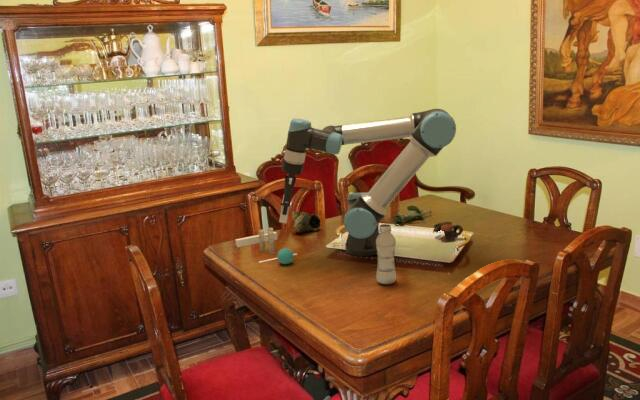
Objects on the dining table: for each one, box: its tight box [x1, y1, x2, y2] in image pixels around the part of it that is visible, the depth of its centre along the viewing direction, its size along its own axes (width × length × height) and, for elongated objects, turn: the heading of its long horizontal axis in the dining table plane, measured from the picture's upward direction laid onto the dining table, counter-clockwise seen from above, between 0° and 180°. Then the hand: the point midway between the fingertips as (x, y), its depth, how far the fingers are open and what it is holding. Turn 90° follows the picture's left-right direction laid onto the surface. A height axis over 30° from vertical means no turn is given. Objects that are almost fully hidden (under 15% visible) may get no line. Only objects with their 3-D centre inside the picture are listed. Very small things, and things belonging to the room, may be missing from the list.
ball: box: [277, 247, 295, 265], centre depth 209 cm, size 6×6×6 cm
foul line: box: [258, 252, 298, 264], centre depth 216 cm, size 16×1×1 cm, turn 117°
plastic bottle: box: [375, 223, 397, 285], centre depth 185 cm, size 6×7×20 cm
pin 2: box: [267, 227, 276, 251], centre depth 226 cm, size 2×2×9 cm
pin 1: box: [258, 228, 266, 253], centre depth 224 cm, size 2×2×9 cm
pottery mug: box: [432, 221, 464, 243], centre depth 228 cm, size 12×10×8 cm
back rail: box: [234, 231, 278, 248], centre depth 236 cm, size 18×2×3 cm, turn 117°
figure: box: [392, 205, 432, 226], centre depth 256 cm, size 16×7×25 cm
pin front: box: [267, 230, 275, 255], centre depth 221 cm, size 2×2×9 cm
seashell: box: [291, 211, 321, 234], centre depth 246 cm, size 11×11×10 cm
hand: (283, 216), depth 208 cm, fingers open, 13 cm apart
